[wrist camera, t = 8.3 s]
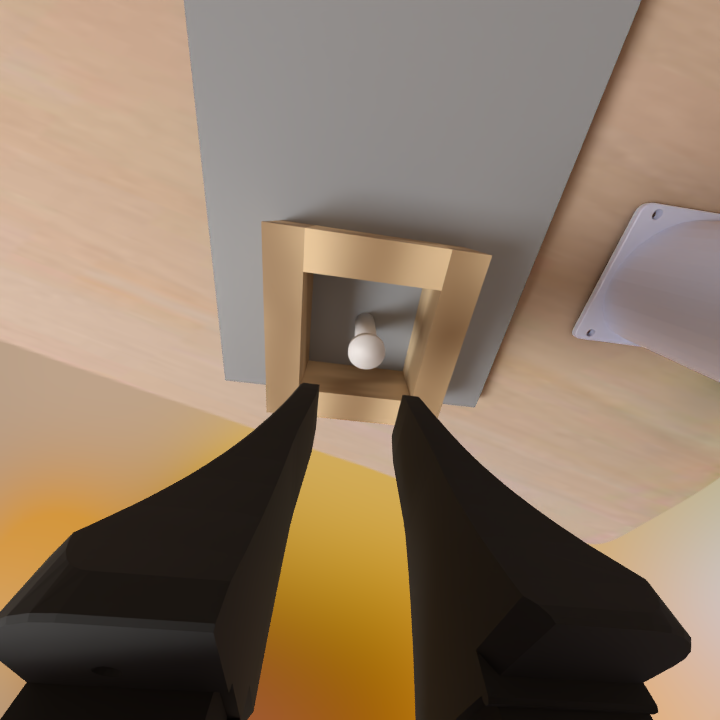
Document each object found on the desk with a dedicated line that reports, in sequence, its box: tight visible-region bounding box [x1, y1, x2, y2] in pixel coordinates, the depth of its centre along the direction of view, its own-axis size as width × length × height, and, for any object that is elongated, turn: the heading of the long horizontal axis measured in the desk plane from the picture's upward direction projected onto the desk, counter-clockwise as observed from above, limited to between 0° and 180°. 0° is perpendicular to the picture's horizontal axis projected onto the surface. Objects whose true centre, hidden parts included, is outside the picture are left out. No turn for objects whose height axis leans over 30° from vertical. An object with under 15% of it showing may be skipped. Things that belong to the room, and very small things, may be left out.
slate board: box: [184, 0, 641, 407], centre depth 13 cm, size 18×22×6 cm
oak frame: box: [261, 220, 492, 425], centre depth 16 cm, size 10×10×4 cm
